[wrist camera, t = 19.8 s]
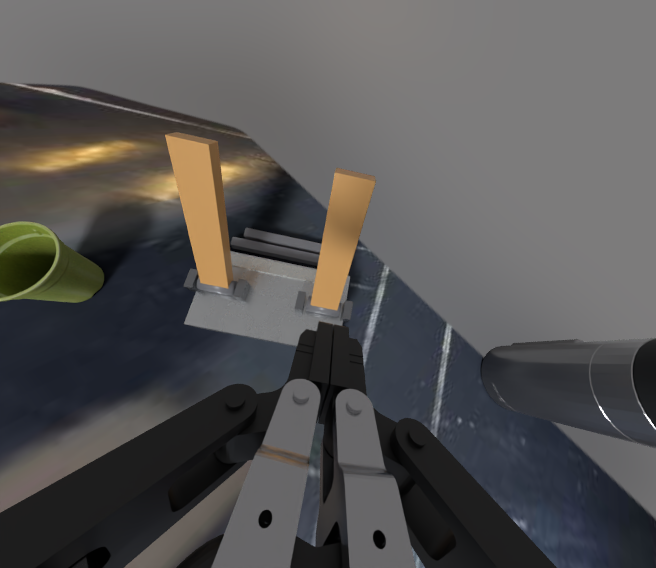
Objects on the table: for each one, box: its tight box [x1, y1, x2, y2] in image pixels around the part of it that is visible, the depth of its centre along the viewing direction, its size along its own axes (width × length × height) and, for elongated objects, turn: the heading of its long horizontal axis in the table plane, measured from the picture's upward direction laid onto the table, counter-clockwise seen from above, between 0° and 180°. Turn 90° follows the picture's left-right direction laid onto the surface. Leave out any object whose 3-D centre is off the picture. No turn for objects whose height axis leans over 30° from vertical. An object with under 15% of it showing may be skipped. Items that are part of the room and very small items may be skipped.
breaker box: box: [184, 251, 353, 347], centre depth 32 cm, size 11×21×6 cm, turn 79°
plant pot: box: [0, 222, 104, 302], centre depth 29 cm, size 9×9×9 cm
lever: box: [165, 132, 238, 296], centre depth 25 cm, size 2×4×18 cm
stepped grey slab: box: [230, 228, 322, 266], centre depth 38 cm, size 3×18×1 cm, turn 79°
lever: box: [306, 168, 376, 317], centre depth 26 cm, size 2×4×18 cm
